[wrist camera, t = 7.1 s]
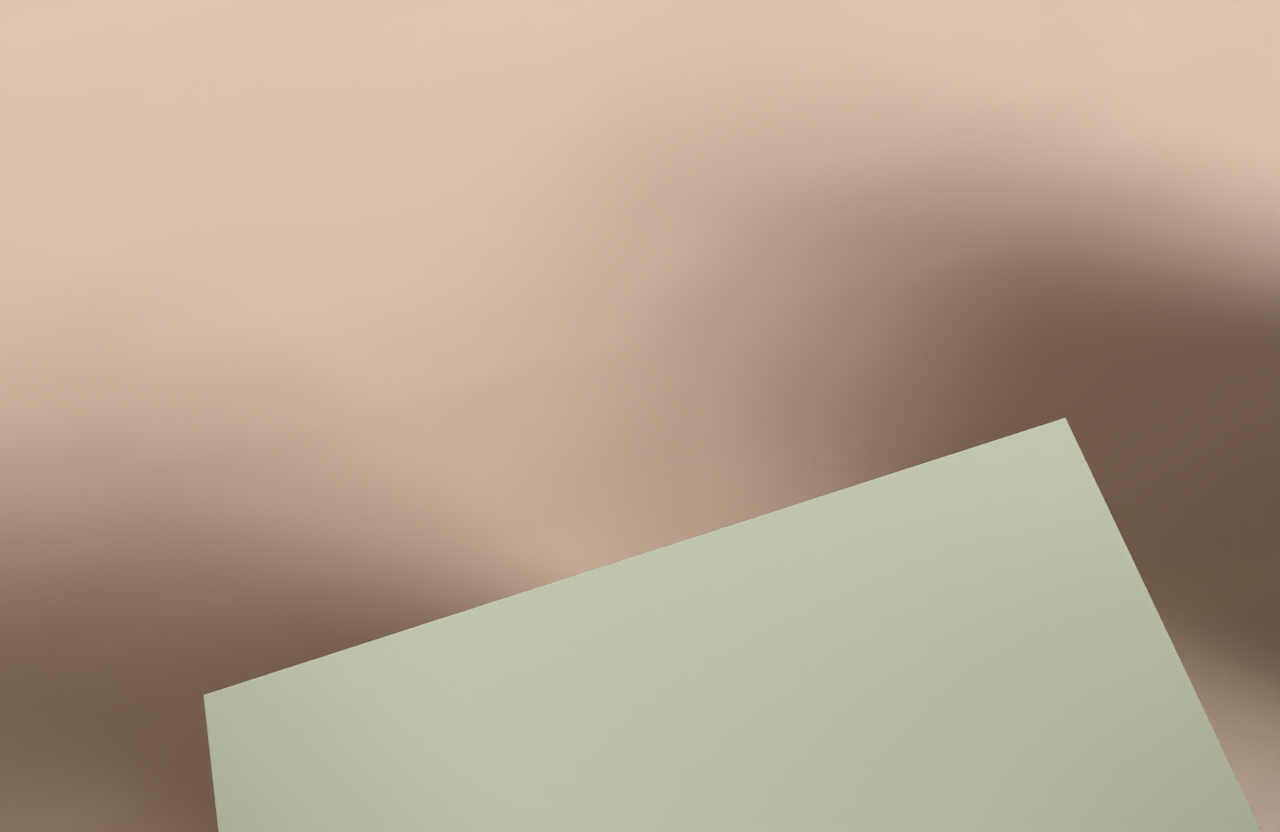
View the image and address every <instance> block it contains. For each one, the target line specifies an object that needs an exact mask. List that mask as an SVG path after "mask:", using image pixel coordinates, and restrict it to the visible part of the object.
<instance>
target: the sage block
mask: <svg viewBox="0 0 1280 832" xmlns="http://www.w3.org/2000/svg"><path fill="white" fill-rule="evenodd" d="M204 704H205V713H206V723H207V732H208V741H209V750H210V759H211V768H212V778H213V787H214V796H215V805H216V814H217V823H218V832H1262V831H1261V829H1260V826H1259V824H1258V822H1257V820H1256V818H1255V816H1254V814H1253V812H1252V810H1251V807H1250V805H1249V803H1248V801H1247V799H1246V797H1245V795H1244V793H1243V791H1242V789H1241V786H1240V784H1239V782H1238V780H1237V778H1236V776H1235V774H1234V772H1233V770H1232V767H1231V765H1230V763H1229V761H1228V759H1227V757H1226V755H1225V753H1224V751H1223V749H1222V746H1221V744H1220V742H1219V740H1218V738H1217V736H1216V734H1215V732H1214V730H1213V727H1212V725H1211V723H1210V721H1209V719H1208V717H1207V715H1206V713H1205V711H1204V708H1203V706H1202V704H1201V702H1200V700H1199V698H1198V696H1197V694H1196V692H1195V690H1194V687H1193V685H1192V683H1191V681H1190V679H1189V677H1188V675H1187V673H1186V671H1185V668H1184V666H1183V664H1182V662H1181V660H1180V658H1179V656H1178V654H1177V652H1176V650H1175V647H1174V645H1173V643H1172V641H1171V639H1170V637H1169V635H1168V633H1167V631H1166V628H1165V626H1164V624H1163V622H1162V620H1161V618H1160V616H1159V614H1158V612H1157V610H1156V607H1155V605H1154V603H1153V601H1152V599H1151V597H1150V595H1149V593H1148V591H1147V588H1146V586H1145V584H1144V582H1143V580H1142V578H1141V576H1140V574H1139V572H1138V570H1137V567H1136V565H1135V563H1134V561H1133V559H1132V557H1131V555H1130V553H1129V551H1128V548H1127V546H1126V544H1125V542H1124V540H1123V538H1122V536H1121V534H1120V532H1119V530H1118V527H1117V525H1116V523H1115V521H1114V519H1113V517H1112V515H1111V513H1110V511H1109V508H1108V506H1107V504H1106V502H1105V500H1104V498H1103V496H1102V494H1101V492H1100V490H1099V487H1098V485H1097V483H1096V481H1095V479H1094V477H1093V475H1092V473H1091V471H1090V468H1089V466H1088V464H1087V462H1086V460H1085V458H1084V456H1083V454H1082V452H1081V450H1080V447H1079V445H1078V443H1077V441H1076V439H1075V437H1074V435H1073V433H1072V431H1071V428H1070V426H1069V424H1068V422H1067V420H1066V418H1063V419H1060V420H1057V421H1053V422H1050V423H1047V424H1044V425H1041V426H1038V427H1035V428H1032V429H1029V430H1025V431H1022V432H1019V433H1016V434H1013V435H1010V436H1007V437H1004V438H1001V439H997V440H994V441H991V442H988V443H985V444H982V445H979V446H976V447H973V448H969V449H966V450H963V451H960V452H957V453H954V454H951V455H948V456H945V457H942V458H938V459H935V460H932V461H929V462H926V463H923V464H920V465H917V466H914V467H910V468H907V469H904V470H901V471H898V472H895V473H892V474H889V475H886V476H882V477H879V478H876V479H873V480H870V481H867V482H864V483H861V484H858V485H854V486H851V487H848V488H845V489H842V490H839V491H836V492H833V493H830V494H827V495H823V496H820V497H817V498H814V499H811V500H808V501H805V502H802V503H799V504H795V505H792V506H789V507H786V508H783V509H780V510H777V511H774V512H771V513H767V514H764V515H761V516H758V517H755V518H752V519H749V520H746V521H743V522H739V523H736V524H733V525H730V526H727V527H724V528H721V529H718V530H715V531H712V532H708V533H705V534H702V535H699V536H696V537H693V538H690V539H687V540H684V541H680V542H677V543H674V544H671V545H668V546H665V547H662V548H659V549H656V550H652V551H649V552H646V553H643V554H640V555H637V556H634V557H631V558H628V559H624V560H621V561H618V562H615V563H612V564H609V565H606V566H603V567H600V568H597V569H593V570H590V571H587V572H584V573H581V574H578V575H575V576H572V577H569V578H565V579H562V580H559V581H556V582H553V583H550V584H547V585H544V586H541V587H537V588H534V589H531V590H528V591H525V592H522V593H519V594H516V595H513V596H509V597H506V598H503V599H500V600H497V601H494V602H491V603H488V604H485V605H482V606H478V607H475V608H472V609H469V610H466V611H463V612H460V613H457V614H454V615H450V616H447V617H444V618H441V619H438V620H435V621H432V622H429V623H426V624H422V625H419V626H416V627H413V628H410V629H407V630H404V631H401V632H398V633H394V634H391V635H388V636H385V637H382V638H379V639H376V640H373V641H370V642H367V643H363V644H360V645H357V646H354V647H351V648H348V649H345V650H342V651H339V652H335V653H332V654H329V655H326V656H323V657H320V658H317V659H314V660H311V661H307V662H304V663H301V664H298V665H295V666H292V667H289V668H286V669H283V670H279V671H276V672H273V673H270V674H267V675H264V676H261V677H258V678H255V679H252V680H248V681H245V682H242V683H239V684H236V685H233V686H230V687H227V688H224V689H220V690H217V691H214V692H211V693H208V694H205V695H204Z"/></svg>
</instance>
